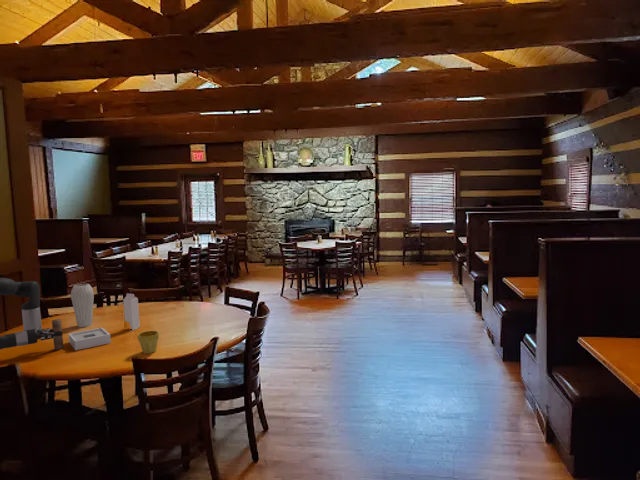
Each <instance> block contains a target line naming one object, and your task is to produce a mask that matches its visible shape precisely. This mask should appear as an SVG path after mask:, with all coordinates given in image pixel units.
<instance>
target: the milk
mask: <svg viewBox="0 0 640 480" xmlns="http://www.w3.org/2000/svg"><path fill="white" fill-rule="evenodd" d="M122 301H123V312H124V322H125V321H127V322H129V324H130V326H131V329H132V330H131V331H135V330H137V328H138V329H140V328H141V327H140V326H141V325H140V324H141V323H140V310H139V298H138V297H137V296H135V294H134V293H126V295H125V297H124V298H123V299H122ZM139 327H140V328H139ZM134 329H135V330H134Z"/></svg>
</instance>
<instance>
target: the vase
mask: <svg viewBox="0 0 640 480" xmlns="http://www.w3.org/2000/svg"><path fill="white" fill-rule="evenodd" d="M94 298H95V292H94V289H93V287H92V286H91V285H90V283H81V284H74V285H73V287H72V288H71V292H70V300H71V303H72V308H73V311H74V315H75V320H76V324H77V327H78V328H87V327H90V326H92V325H93V316H94V315H93V312H94Z"/></svg>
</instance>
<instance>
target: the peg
mask: <svg viewBox="0 0 640 480" xmlns="http://www.w3.org/2000/svg"><path fill="white" fill-rule="evenodd" d="M51 327H52V328H51V329H53V333H54V332H59V331H62V332H63V327H62V319H61V318H58V319H57V318H56V319H52V320H51ZM64 347H65V346H64V338H63V334H62V335H61V336H56V337H55V336H54V338H53V348H54V351H60V350H63V349H64Z"/></svg>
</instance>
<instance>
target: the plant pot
mask: <svg viewBox="0 0 640 480" xmlns="http://www.w3.org/2000/svg"><path fill="white" fill-rule="evenodd" d="M159 333H160V332H159V331H157V330H146V331H142V332H140V333H138V334H137V340H138V341H137V342H139V344H140V347H141V351H142V353H143V354H146V353H148V354H153V353H156V351H157V347H158V340H159V339H160V334H159ZM152 352H153V353H152Z"/></svg>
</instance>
